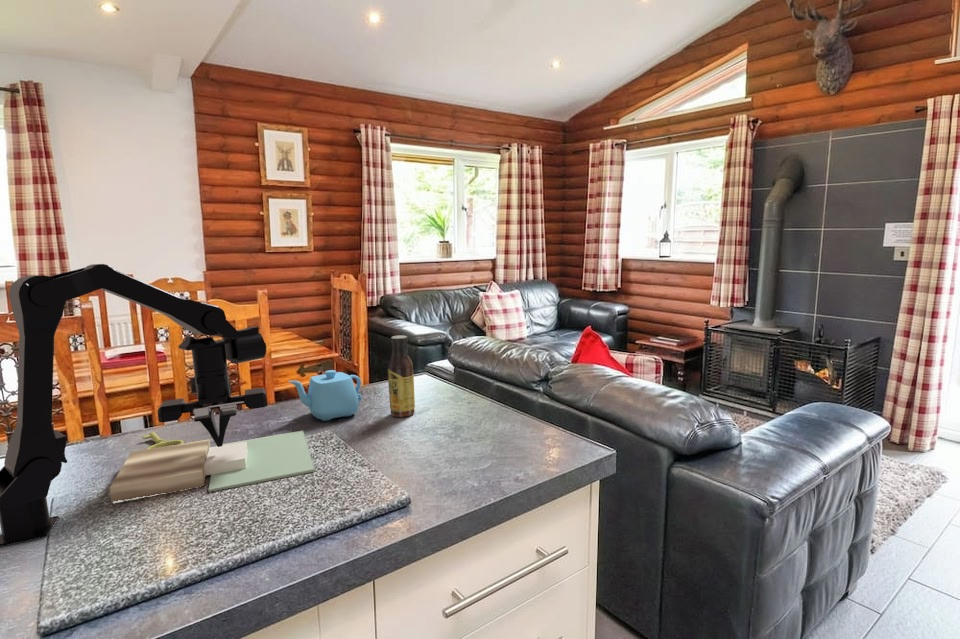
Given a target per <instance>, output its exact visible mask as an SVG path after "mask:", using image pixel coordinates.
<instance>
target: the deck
mask: <svg viewBox="0 0 960 639" xmlns="http://www.w3.org/2000/svg"><path fill="white" fill-rule="evenodd" d="M209 447H211V444H210V439H209V438H208V439H203V440H197V441H190V442H184V443H183V444H177V445H170V446H165V447H159V448H152V449H147V448H145V449H141V450H136V451H131V452H130V453H129V455H128V457H127V458H126V460H125V462H124V463H123V464H122V467H121V469H119V472H118V473H117V475H116V477H115V478H114V480H113V482H112V483H111V485H110V487H109V493H110V500H111V501H110V502H111V503H112V502H113V501H118V500H125V499H132V498H136V497H143V496H150V495H155V494H161V493H169V492H174V491H180V490H185V489H189V488H190V490H192V489H191V488H196V487H200V486H204V487H205V484H204V482H206V479H205V477H206V478H207V475H205V467H204V465H205V461H206V458H207V454H208V451H209ZM196 489H197V488H196ZM185 491H186V490H185ZM180 492H181V491H180Z"/></svg>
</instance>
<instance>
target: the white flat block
mask: <svg viewBox="0 0 960 639" xmlns="http://www.w3.org/2000/svg"><path fill="white" fill-rule="evenodd" d="M247 452H248V449H247V441H246V442H240V443H234V444H227V445H222V446H221V447H217V446H216V445H215V446H210V447H209V451H208V454H207V458H206V461H205V465H204V467H205V475H206V476H211V474H217V473H222V472H228V471H234V470H239V469H245V468H246V463H247Z"/></svg>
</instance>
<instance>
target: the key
mask: <svg viewBox="0 0 960 639" xmlns="http://www.w3.org/2000/svg"><path fill="white" fill-rule="evenodd" d="M141 438H142V439H143V440H149V439H152V441H154V442H155V444H153V445H150V446H148V447H147V448H146V449H152V448H159V447H165V446H169V445H170V446H171V445H174V444H183V443H185V442H184V440H181V439H172V440H165V439H163V438H161V437H159V436H158V435H157V434H156V433H155V431H151V432H150V433H149V434H147V435H142V437H141Z"/></svg>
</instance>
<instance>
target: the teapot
mask: <svg viewBox="0 0 960 639" xmlns="http://www.w3.org/2000/svg"><path fill="white" fill-rule="evenodd" d="M353 379H355V380H356V386H355V383H354V381H353ZM287 383H290V384H292V385H294V386H295V388H296V390H297V393H298V396H299V399H300V401H301V403H302V404H303V405H304V406H306V407H307V408H308V409H309V411H310V413H311V414H312V416H314V418H316V419H319V420H320V421H321V422H322V421H323V422H328V421H331V419H335V418H342V417H350V416H353V415H354V414H357V413H358V410H359V402H361V401H362V398H363V397H362V395H361V393H359V392H360V389H361V385H362V380H361V377H359V376H357V375H356V374H350V375H349V374H348V373H346V372H341V371H338V372H337V371H336V370H334V369H329V370H325V371H324V374H318V375H314V376H313V375H312V376H311V377H310V379H309V383H308V390H307V393H306V392H305V388H304V385H303V384H302V383H301V381H298V380H288V381H287Z"/></svg>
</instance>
